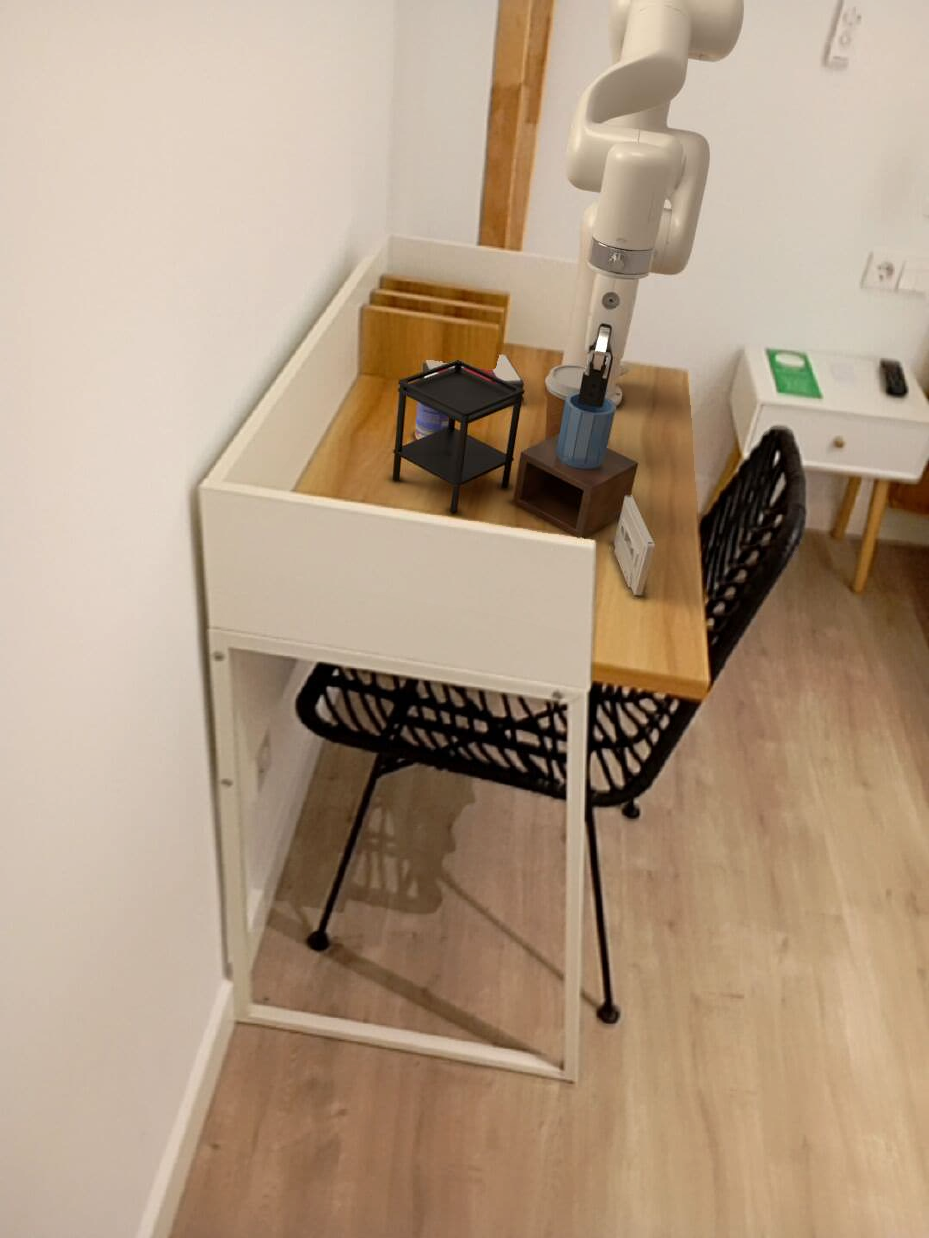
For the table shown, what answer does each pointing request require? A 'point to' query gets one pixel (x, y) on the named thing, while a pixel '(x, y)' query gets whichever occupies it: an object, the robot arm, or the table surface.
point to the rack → (450, 447)
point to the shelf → (573, 488)
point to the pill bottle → (429, 420)
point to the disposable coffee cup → (561, 394)
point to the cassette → (633, 546)
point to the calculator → (488, 371)
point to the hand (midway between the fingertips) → (593, 390)
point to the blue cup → (584, 433)
